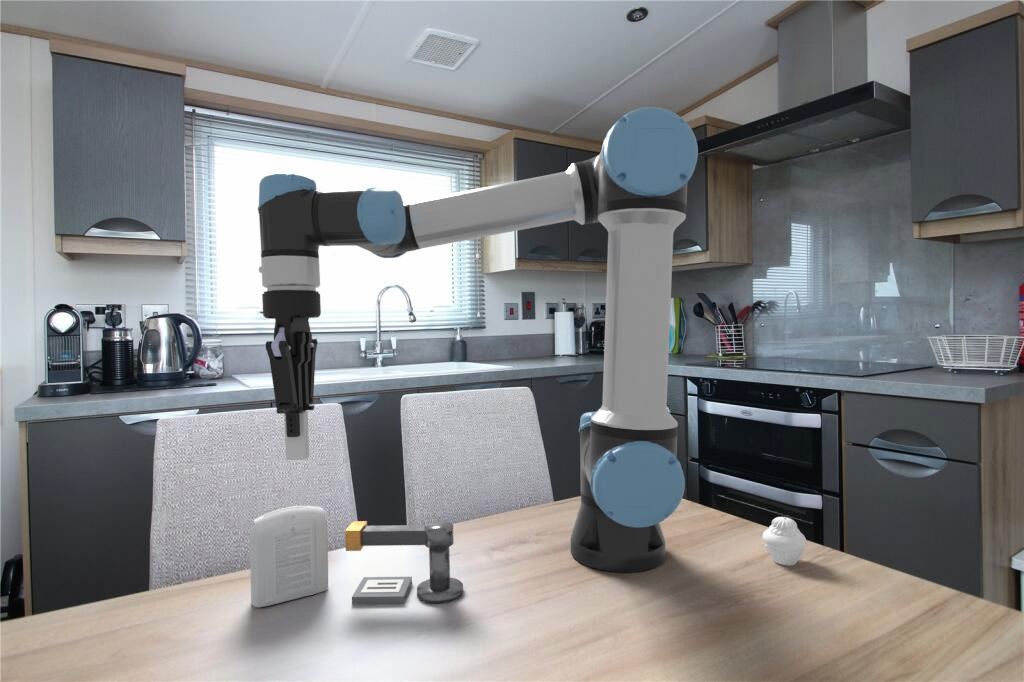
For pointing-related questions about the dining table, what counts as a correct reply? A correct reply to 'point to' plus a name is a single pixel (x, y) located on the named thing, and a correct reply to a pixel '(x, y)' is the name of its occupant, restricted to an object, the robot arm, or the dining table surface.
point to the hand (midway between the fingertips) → (297, 458)
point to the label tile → (382, 590)
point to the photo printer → (288, 555)
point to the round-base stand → (439, 580)
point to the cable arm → (399, 535)
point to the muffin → (784, 541)
